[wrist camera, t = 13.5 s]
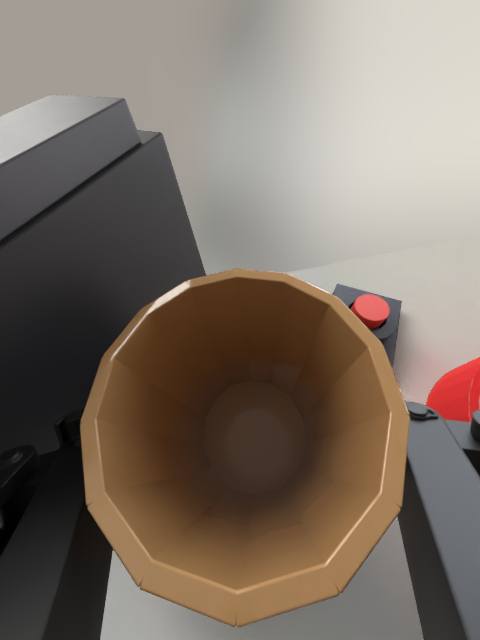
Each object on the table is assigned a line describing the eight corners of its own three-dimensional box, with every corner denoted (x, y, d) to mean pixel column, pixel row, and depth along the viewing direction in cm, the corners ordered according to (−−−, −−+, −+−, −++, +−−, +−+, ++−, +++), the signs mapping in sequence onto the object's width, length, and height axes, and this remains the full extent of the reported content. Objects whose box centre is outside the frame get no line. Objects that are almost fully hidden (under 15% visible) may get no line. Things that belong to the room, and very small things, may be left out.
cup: (179, 463, 15) (6, 473, 5) (230, 362, 19) (190, 246, 8) (287, 530, 13) (378, 799, 3) (322, 401, 16) (420, 308, 6)
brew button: (380, 333, 25) (387, 325, 23) (346, 322, 26) (351, 314, 24) (384, 308, 26) (392, 299, 25) (352, 299, 27) (358, 290, 26)
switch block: (384, 376, 25) (401, 365, 22) (314, 350, 28) (320, 337, 25) (395, 308, 30) (409, 292, 27) (333, 291, 32) (341, 274, 29)
